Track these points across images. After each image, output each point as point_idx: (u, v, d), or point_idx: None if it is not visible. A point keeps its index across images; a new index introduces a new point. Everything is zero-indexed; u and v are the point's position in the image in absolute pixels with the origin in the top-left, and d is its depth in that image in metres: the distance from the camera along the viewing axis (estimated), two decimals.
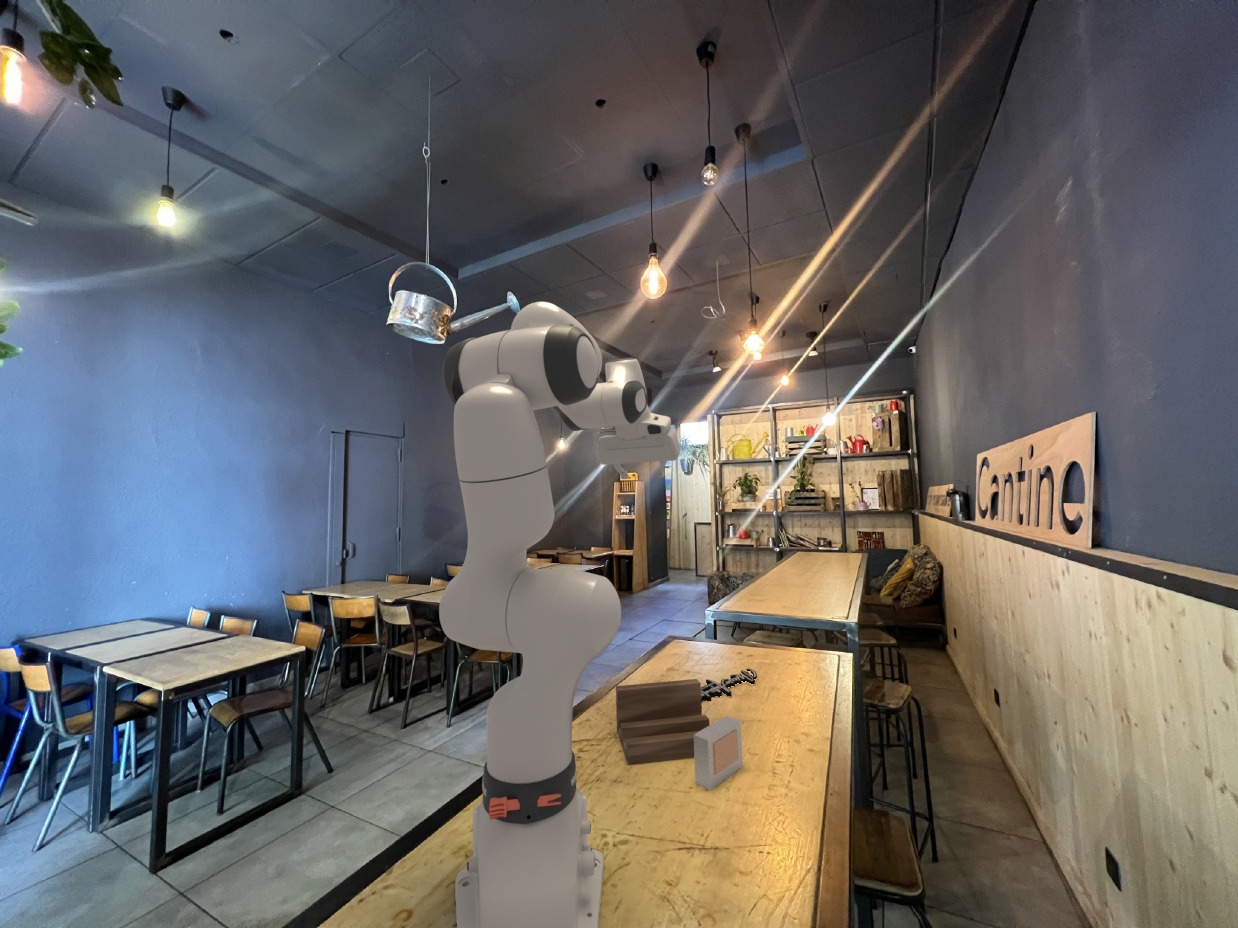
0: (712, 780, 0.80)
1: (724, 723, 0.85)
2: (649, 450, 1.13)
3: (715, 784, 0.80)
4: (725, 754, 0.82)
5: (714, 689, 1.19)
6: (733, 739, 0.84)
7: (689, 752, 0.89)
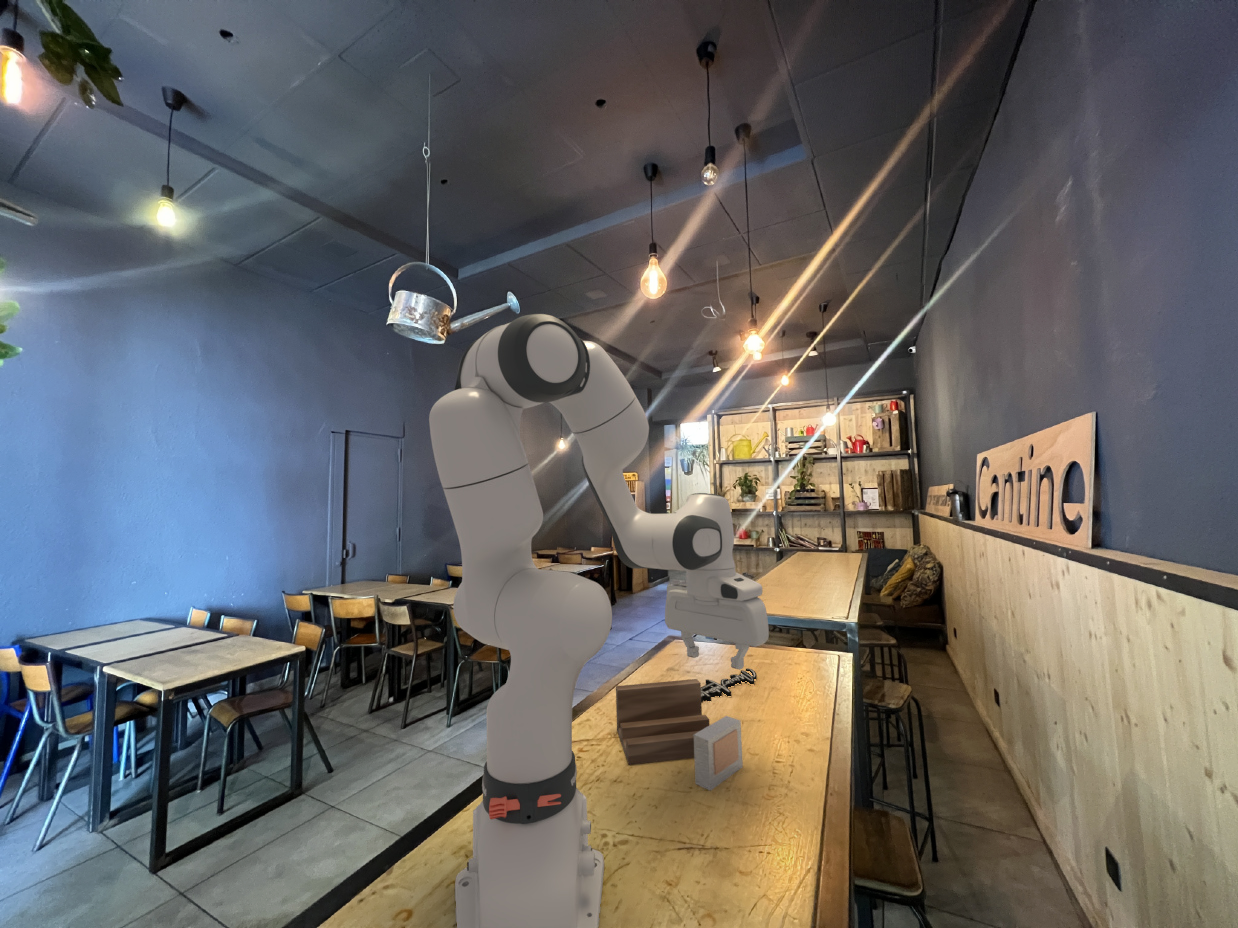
0: (712, 780, 0.80)
1: (724, 723, 0.85)
2: (723, 622, 0.82)
3: (715, 784, 0.80)
4: (725, 754, 0.82)
5: (714, 689, 1.19)
6: (733, 739, 0.84)
7: (689, 752, 0.89)
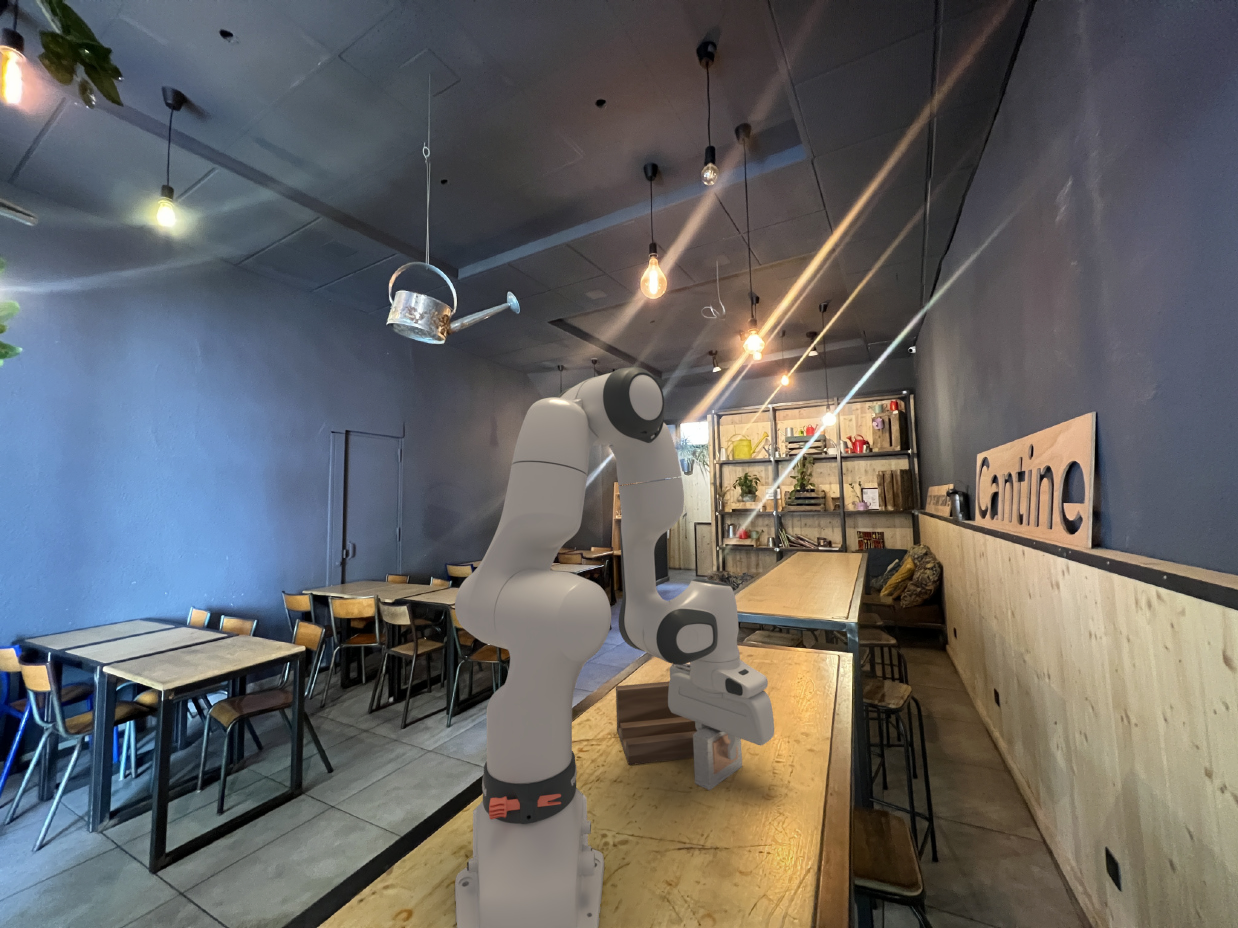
0: (712, 779, 0.80)
1: None
2: (728, 716, 0.81)
3: (715, 783, 0.80)
4: None
5: None
6: None
7: (689, 752, 0.89)
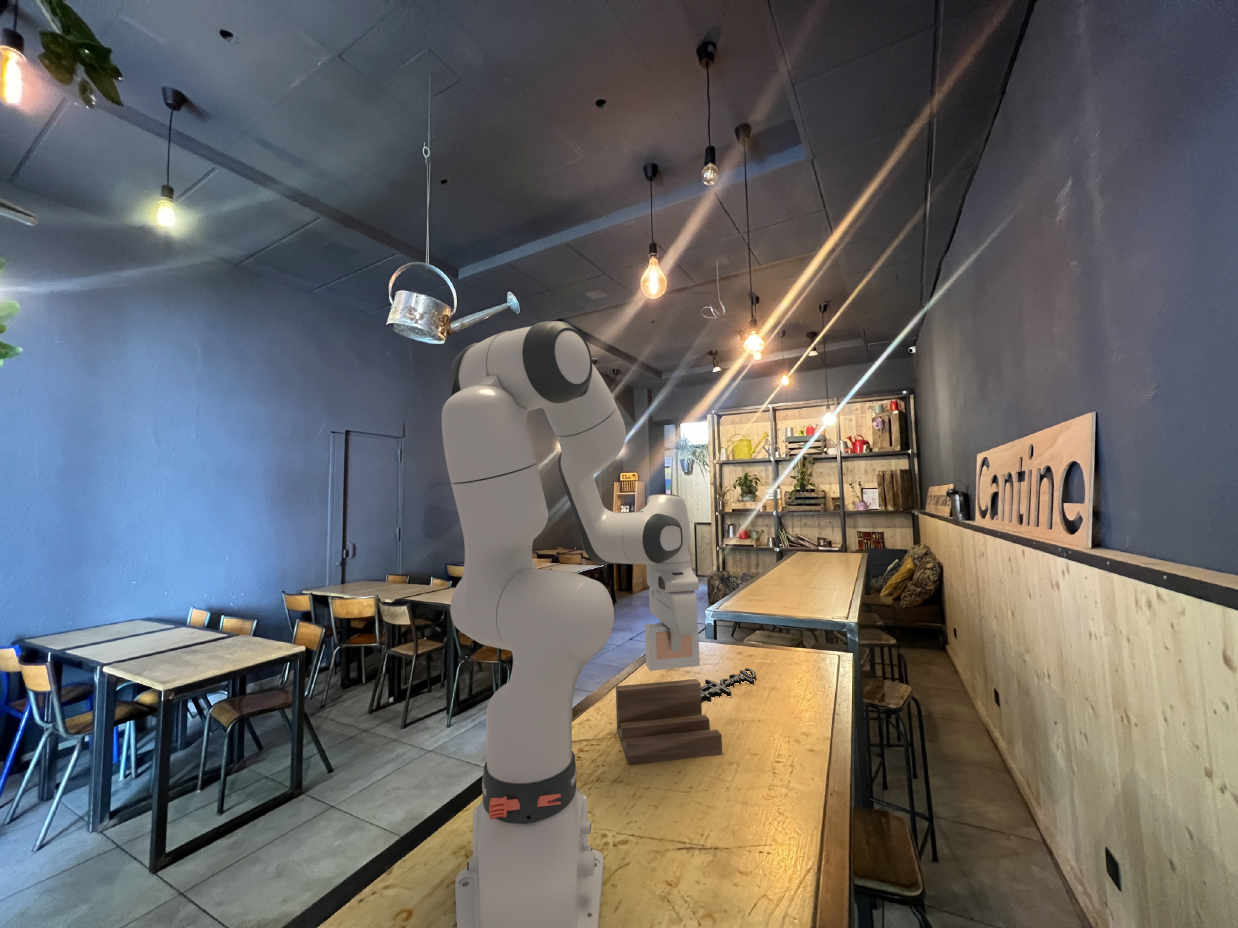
0: (654, 663, 0.92)
1: None
2: (666, 611, 0.91)
3: (658, 667, 0.92)
4: None
5: (714, 689, 1.19)
6: (685, 637, 0.93)
7: (689, 752, 0.89)
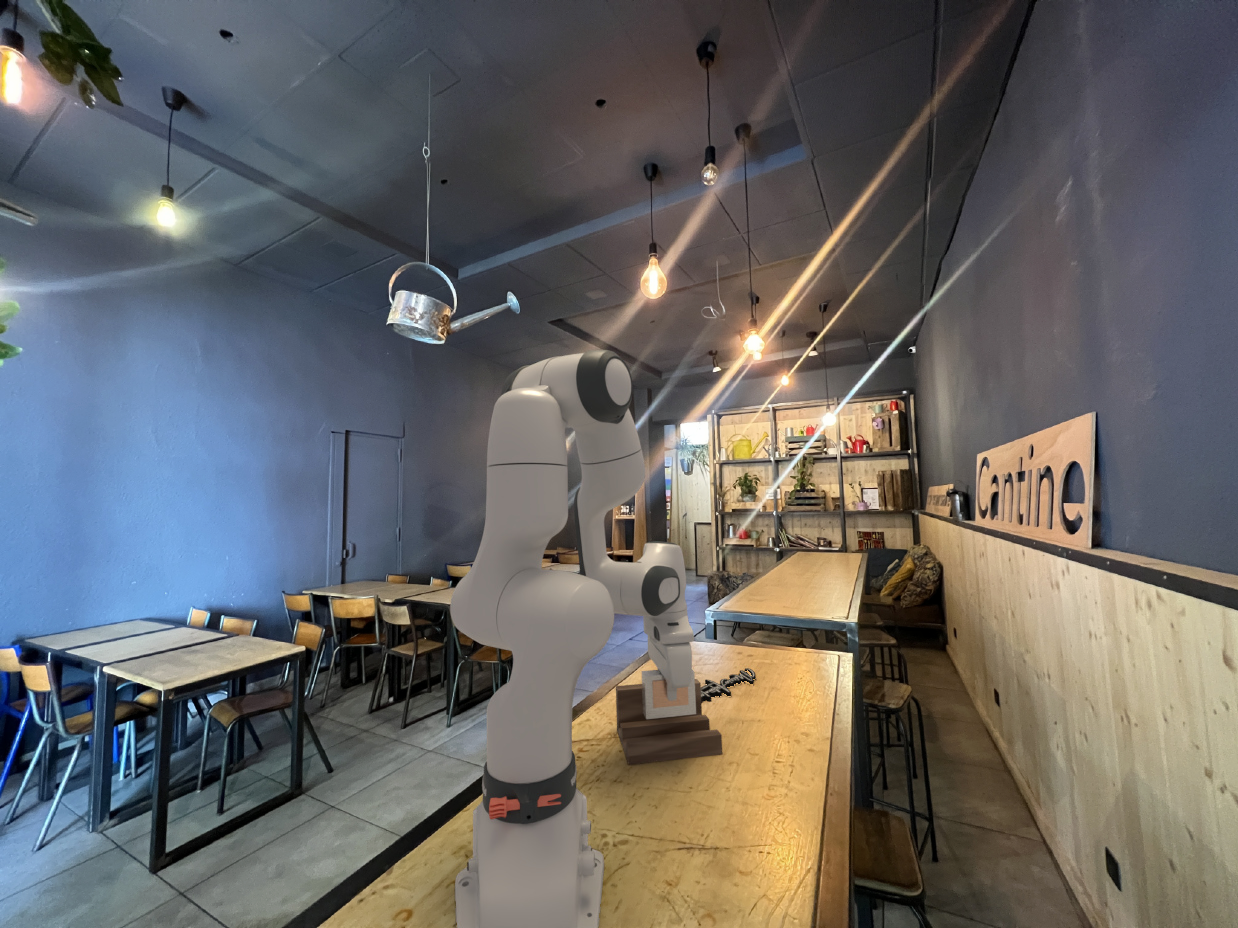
0: (650, 711, 0.92)
1: None
2: (662, 660, 0.91)
3: (654, 716, 0.92)
4: None
5: (714, 689, 1.19)
6: None
7: (689, 752, 0.89)
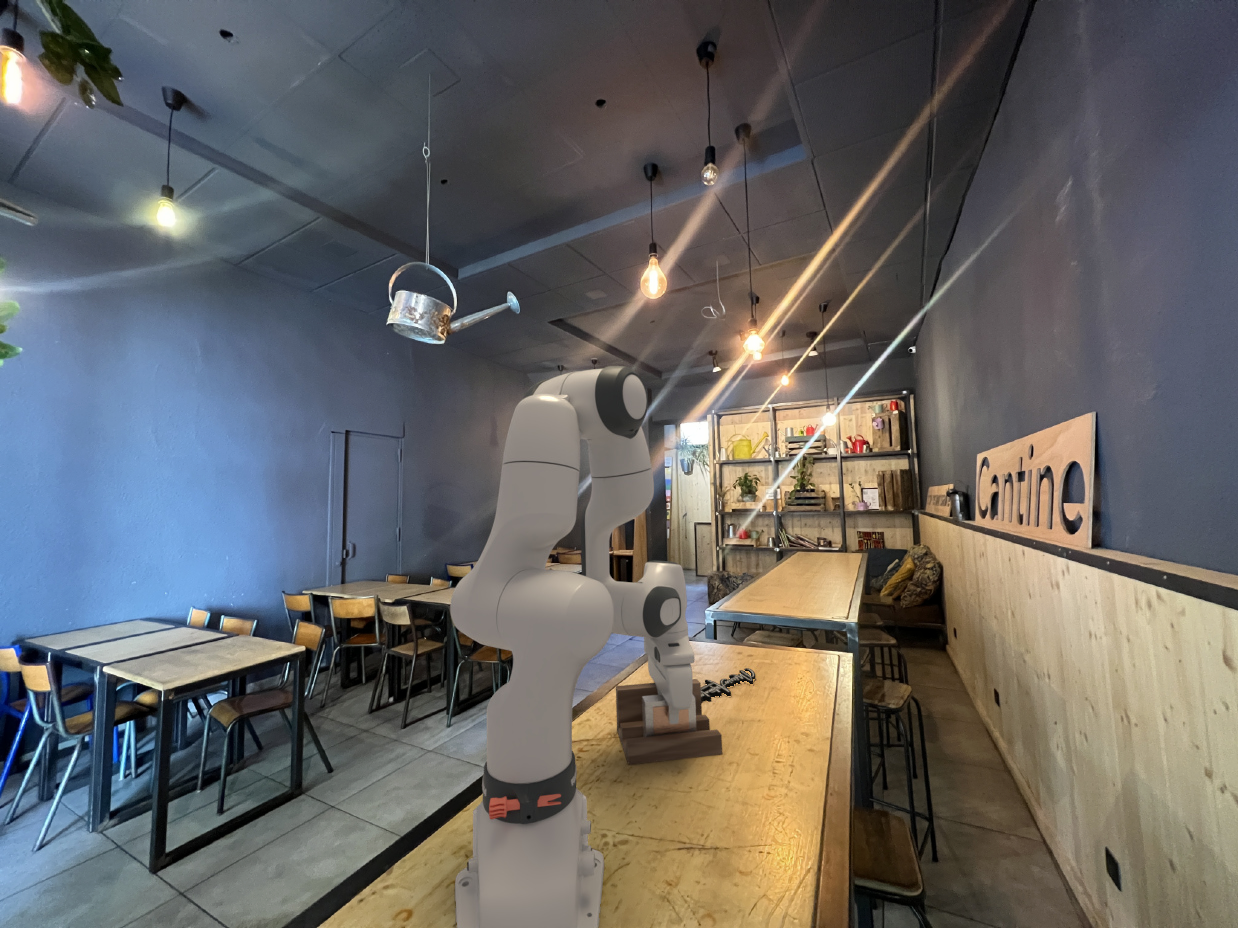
0: None
1: None
2: (662, 681, 0.91)
3: None
4: None
5: (714, 689, 1.19)
6: (682, 711, 0.93)
7: (689, 752, 0.89)
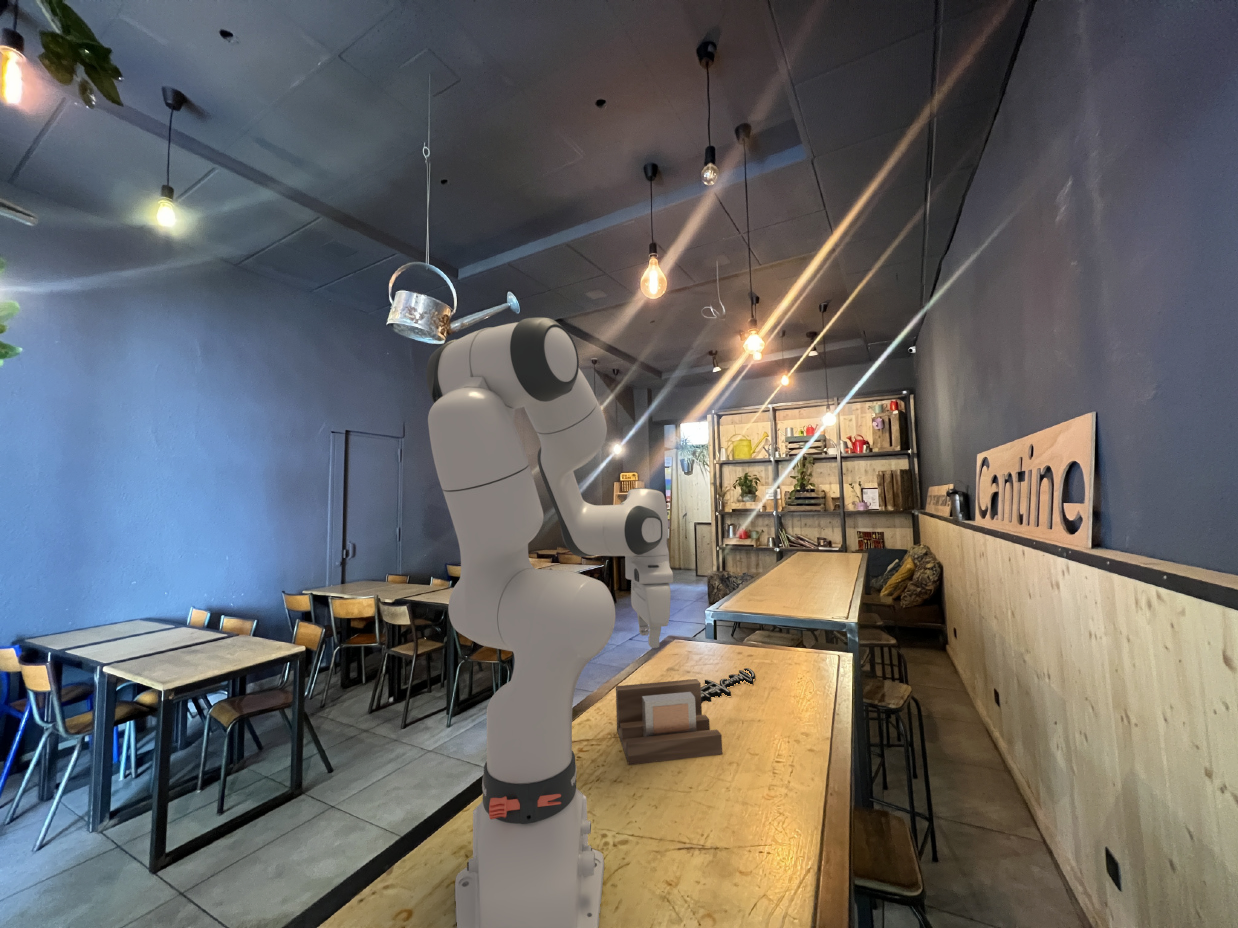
0: None
1: (678, 696, 0.94)
2: (642, 604, 0.92)
3: None
4: (669, 720, 0.92)
5: (713, 689, 1.19)
6: (681, 711, 0.93)
7: (689, 752, 0.89)
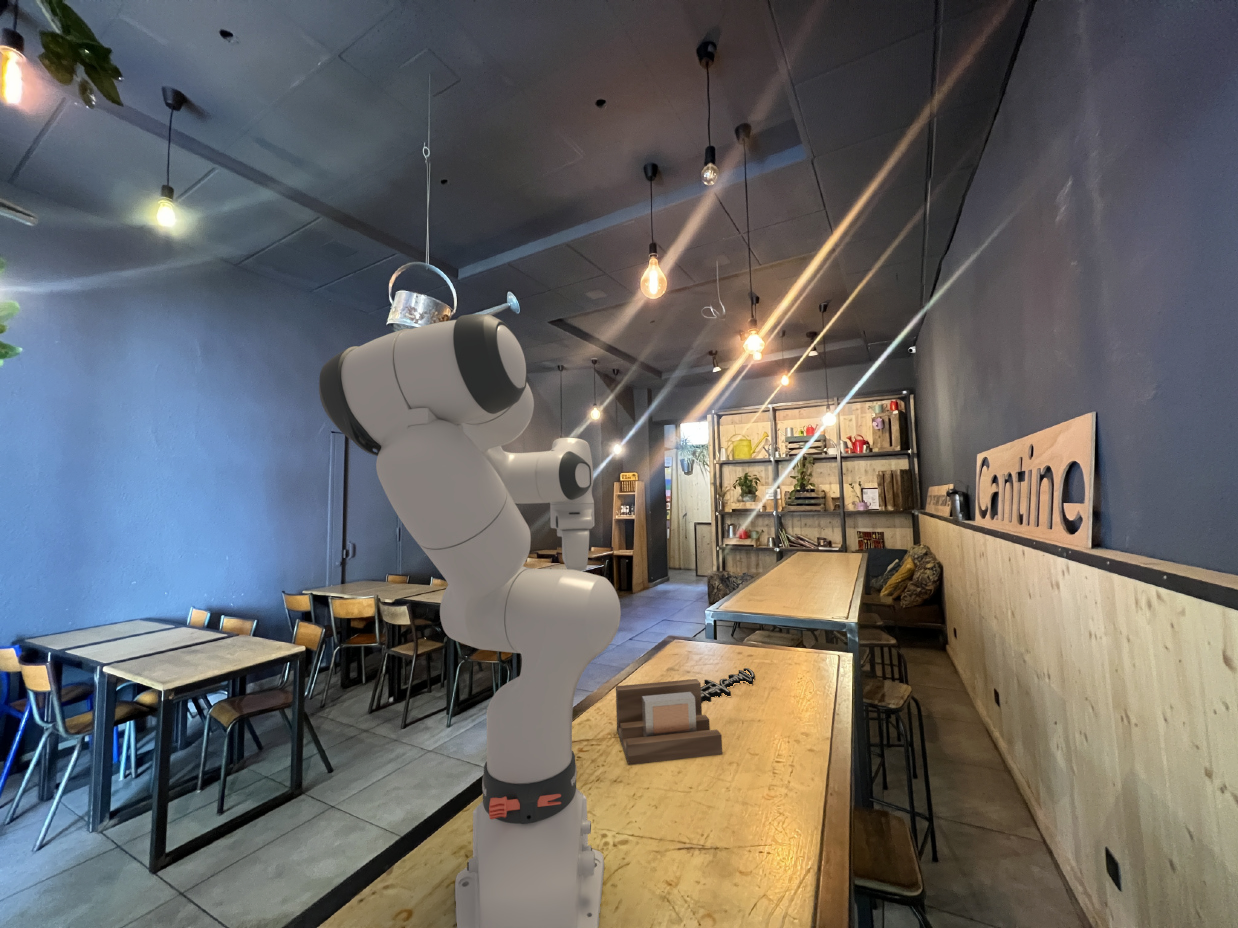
0: None
1: (678, 696, 0.94)
2: None
3: None
4: (669, 720, 0.92)
5: (713, 689, 1.19)
6: (681, 711, 0.93)
7: (689, 752, 0.89)
